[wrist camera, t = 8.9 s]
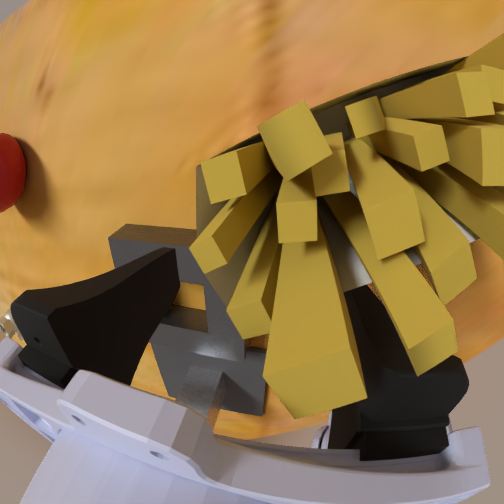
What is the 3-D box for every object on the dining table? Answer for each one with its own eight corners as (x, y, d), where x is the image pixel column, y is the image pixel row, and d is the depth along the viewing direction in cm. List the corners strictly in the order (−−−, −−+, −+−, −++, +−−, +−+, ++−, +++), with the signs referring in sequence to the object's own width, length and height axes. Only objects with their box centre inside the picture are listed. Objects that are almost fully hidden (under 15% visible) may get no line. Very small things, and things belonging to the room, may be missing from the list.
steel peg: (222, 371, 31) (202, 428, 24) (226, 389, 33) (209, 442, 26) (190, 365, 32) (167, 418, 25) (196, 384, 34) (176, 434, 27)
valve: (14, 303, 39) (50, 351, 43) (-7, 323, 33) (33, 373, 38) (22, 296, 37) (63, 348, 41) (-1, 317, 31) (43, 372, 35)
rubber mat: (268, 350, 29) (268, 354, 28) (262, 412, 36) (262, 416, 35) (149, 327, 31) (147, 330, 31) (170, 393, 38) (169, 396, 37)
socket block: (252, 235, 23) (244, 252, 20) (250, 341, 29) (244, 362, 26) (126, 223, 25) (108, 237, 22) (147, 321, 31) (135, 338, 28)
